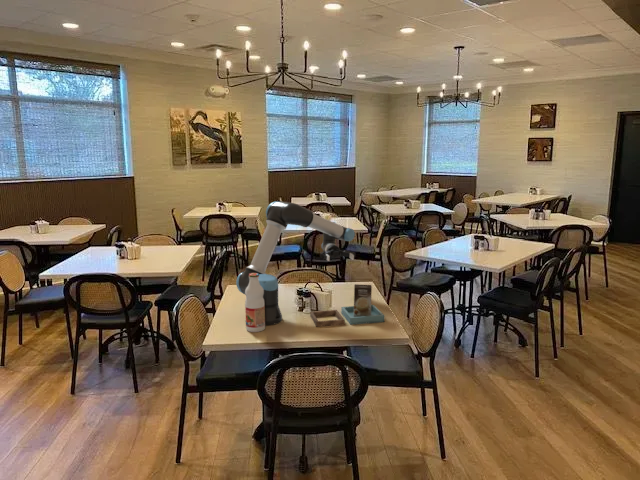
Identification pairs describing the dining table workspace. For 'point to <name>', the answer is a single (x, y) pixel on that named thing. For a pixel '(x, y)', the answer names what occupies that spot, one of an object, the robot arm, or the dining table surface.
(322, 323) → the walnut frame
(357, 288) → the coffee box
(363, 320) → the teal tray
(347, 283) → the dining table surface
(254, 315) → the fruit juice
